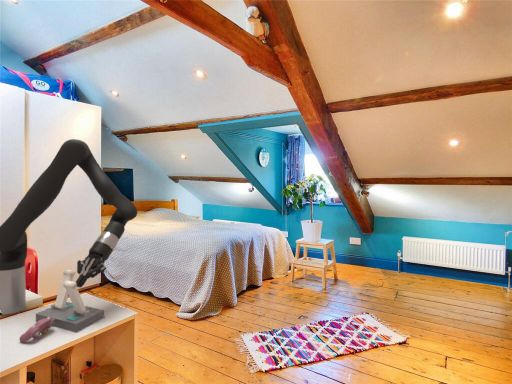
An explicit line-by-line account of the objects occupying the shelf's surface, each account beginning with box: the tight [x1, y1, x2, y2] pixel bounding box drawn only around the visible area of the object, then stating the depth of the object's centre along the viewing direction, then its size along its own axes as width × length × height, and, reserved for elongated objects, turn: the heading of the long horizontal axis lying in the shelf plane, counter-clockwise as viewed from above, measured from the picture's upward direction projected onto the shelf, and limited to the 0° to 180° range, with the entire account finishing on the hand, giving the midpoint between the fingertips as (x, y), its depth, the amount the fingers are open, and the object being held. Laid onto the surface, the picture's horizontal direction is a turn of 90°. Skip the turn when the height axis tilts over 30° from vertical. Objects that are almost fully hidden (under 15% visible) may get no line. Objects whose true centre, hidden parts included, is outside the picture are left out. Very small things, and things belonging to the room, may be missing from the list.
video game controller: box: [19, 317, 55, 343], centre depth 107 cm, size 10×5×7 cm, turn 170°
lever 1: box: [54, 268, 77, 309], centre depth 123 cm, size 4×2×14 cm, turn 70°
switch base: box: [35, 301, 105, 333], centre depth 119 cm, size 20×12×5 cm, turn 70°
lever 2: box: [63, 280, 87, 314], centre depth 114 cm, size 4×2×14 cm, turn 70°
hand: (77, 286), depth 115 cm, fingers closed
